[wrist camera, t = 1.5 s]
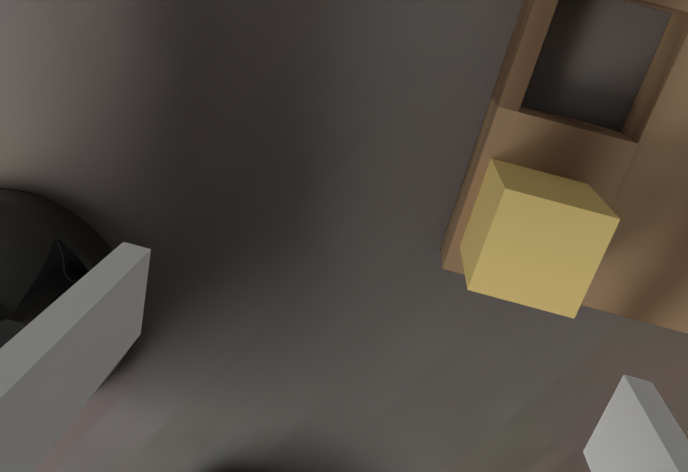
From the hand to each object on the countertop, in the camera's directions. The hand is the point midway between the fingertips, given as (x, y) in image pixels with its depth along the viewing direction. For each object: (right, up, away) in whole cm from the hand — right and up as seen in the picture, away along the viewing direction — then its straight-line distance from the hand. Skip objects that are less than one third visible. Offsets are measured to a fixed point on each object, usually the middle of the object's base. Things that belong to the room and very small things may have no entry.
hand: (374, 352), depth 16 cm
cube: (+8, +4, +14) cm, 17 cm away
